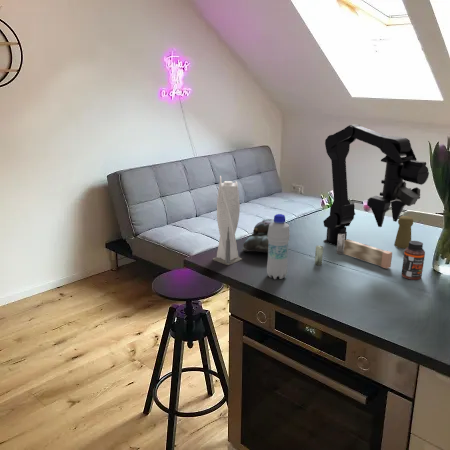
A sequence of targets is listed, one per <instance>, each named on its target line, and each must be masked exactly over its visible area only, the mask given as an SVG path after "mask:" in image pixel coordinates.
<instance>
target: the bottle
mask: <svg viewBox="0 0 450 450" xmlns="http://www.w3.org/2000/svg"><path fill="white" fill-rule="evenodd" d="M273 219H274V222H273V223H271V224H269V229H268V234H267V235H268V241H269V243H268V253H267V263H266V272H267V276H268V277H269V278H270V279H272V278H273V279H274V280H277V277H278V278H279V280H283V278H286V276H287V275H288V251H289V241H290V237H291V233H290V225H289V224H288V223H286V216H285V214H282V213H278V214H277V213H276V214H275V215H274V216H273Z"/></svg>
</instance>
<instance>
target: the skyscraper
mask: <svg viewBox="0 0 450 450" xmlns="http://www.w3.org/2000/svg"><path fill="white" fill-rule="evenodd" d="M238 184H239V183H238V181H237V180H235V181H234V182H233V181H232V180H225V181H223V182H222V175H219V184H218V185H219V186H218V191H217V198H216V199H217V200H216V218H217V220H216V221H217V227H218V231H219V241H218V247H217V251H216V257H213V258H212V261H214V262H218V263H220V264H223V265H225V266H230V265H233V264H235V263H237V262H238V263H239V262H240V261H243V258H241V257H240V256H239V252H238V244H237V239H236V231H237V229H238V225H239V219H240V212H241V211H240V209H241V208H240V207H241V206H240V205H241V204H240V202H241V201H240V193H239V187H238V186H239V185H238Z"/></svg>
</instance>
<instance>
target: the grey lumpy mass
mask: <svg viewBox="0 0 450 450" xmlns="http://www.w3.org/2000/svg"><path fill="white" fill-rule="evenodd" d="M273 222H274V218H267V219H262V220H261V221H260V222H257V223H256V224H255V225H254V227H253V232H252V234H251V235H250V236H249V237H248V238H247V239H246V240H245V241H244V242H243V245H242V246H243V247H242V248H241V249H240V250H241V251H243V252H244V253H245V252H260V253H267V254H268V243H269V241H268V235H267V234H268V229H269V224H271V223H273Z"/></svg>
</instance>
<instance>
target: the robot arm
mask: <svg viewBox="0 0 450 450" xmlns="http://www.w3.org/2000/svg"><path fill="white" fill-rule="evenodd" d="M356 140H358V141H361V142H363V143H366V144H368V145H371V146H373V147H376V148H378V149H379V150H380V151H381V153H383V154H384V155H385V156H384V157H382V158H381V159H380V162H381V163H382V162H383V163H385V164H386V165H385V171H384V178H383V179H381V181H380V182H381V184H383V188H382V191H381V192H379V196H378V195H374V196H371V197H369V198H368V199H367V202H366V206H368V207H369V208H370V209H371V212H372V214H373V216H374V218H375V223H376V225H377V227H379V228H381V227H383V224H384V220H385V216H386V213H387V212H388V211H390V210H391V216H392V221H393V222H398V219H399V218H400V217H401V216H400V215H401V214H402V212H403V209H404V208H405V206H407V207H411V206H412V205H416V203H417V201H418V200H420V198H421V189H420V188H419V187H413V188H409V187H407V183H406V182H408V183H412V184H413V183H414V184H416V185H420V186H422V185H424V184H425V183H426V182H427V180H428V178H429V174H430V173H429V172H430V171H429V168H428V166H427V162H426V161H419V160H417V157H416V155H415V152H414V150H413V148H412V144H411V141H410V139H408V138H406V137H402V136H393V135H392V136H391V135H386V134H383V133H380V132H377V131H374V130H373V129H369V128H366V127H365V126H362V125H360V124H349V125H348V126H346V127H344V128H343V129H340V130H339V131H337V132H335V133H333V134H329V135H328V136H327V137H326V139H325V140H324V145H325V152H326V154H327V156H328V157H329V159H330V162H331V174H332V175H331V176H332V190H333V191H332V192H333V201H332V204H331V206H330V208H329V210H330V211H329V216H327V217H326V218H325V219H324V220H323V226H324V228H326V238H325V239H323V242H324V243H326V244H329V245H333V246H336V247H337V241H338V233H344V234H345V240H347V233H348V232H347V227H350V225H351V222H353V221H354V219H355V216H356V212H355V203H351V202H350V200H349V198H348V197H349V196H348V193H349V192H348V180H347V179H348V177H347V175H348V174H347V162H346V161H347V157H348V155H349V153H350V146H351V144H352V143H354V142H355V141H356ZM390 207H391V208H390Z"/></svg>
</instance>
